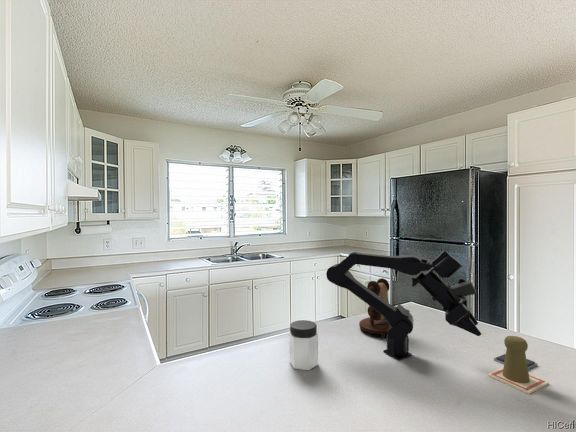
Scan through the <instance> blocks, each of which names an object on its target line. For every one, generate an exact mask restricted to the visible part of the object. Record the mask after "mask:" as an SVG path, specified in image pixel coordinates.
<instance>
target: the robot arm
mask: <svg viewBox="0 0 576 432" xmlns="http://www.w3.org/2000/svg"><path fill="white" fill-rule="evenodd" d="M356 265H359V266H368V267H375V268H376V267H377V268H384V269H390V270H394V271H396V272H399V273H402V274H407V275H408V276H412V277H411V282H412V284H411V285H412V286H411V287H412V288H413V287H414V288H415V287H416V286H417V285H418V284H419V285H420V286H421V287H422V288H423V289H424V291H426V292H427V293H428V294H429V296H431V299H432V300H433V301H435V302H437V304H439V305H440V306H441V309H442V310H443V311H444V313H445V321H446V322H447V323H448V324H449V326H454V327H457V328H460V329H462V330H464V331H466V332H469V333H470V334H473V335H475V336H477V337H480V336H481V335H482V333H481V331H480V330H479V328H478V327H477V325H479V322H478V320H477V319H476V318H475V316H474V315H473V313H472V312H471V310H470V309H469V307H468V302H467V300H468V299H467V298H466V297H467V296H470V295H471V296H472V295H475V294H477V290H476V288H475V286H474V284H473V283H472V280H469V279H468V280H466V279H465V278H463V277H461V278H458V279H457V283H456V284H454V285H450V283H447V282H446V283H445V282H444V280H443V279H446V278H447V279H450V278H451V277H452V276H453V275H454V274H456V273H457V272H458V271H460V270H461V268H463V267H464V266H463V265H462V263H460V262H459V260H457V259H456V258H455V257H454V256H452V255H451V254H450V253H449V252H447V251H446V250H445V249H444V250H443V251H441V252H440V254H439V255H438V256H437V257H436V258H434V259H433V260H428V259H422V258H420V257H419V256H418V255H416V254H403V255H392V256H391V255H385V254H375V253H374V254H373V253H366V252H365V253H364V252H359V251H353V252H350V254H348V256H347V257H345V258H344V259H343V260H342V261H340V262H339V263H335V264H332V266H330V267H328V268H327V270H326V273H325V274H326V279H327V280H328V281H329V282H330V283H332V284H334V285H335V286H338V287H340V288H343V289H345V290H348V291H349V292H350V293H352V294H353V295H355V296H356V297H358V299H360V300H361V301H363V302H364V303H365V304H367V305H368V307H369V306H371V307H372V308H373V309H375V310H376V311H377V312H379V313H380V314H381V315H383V316H384V317H385V319H386V320H387V322H388V323H389V327H388V330H387V334H386V349H384V350H383V353H384V354H386V355H388V356H390V357H392V358H393V359H396V360H397V361H398V360H399V361H400V360H402V359H406V358H409V357H411V356H413V354H412V353H411V352H410V351H409V350H410V349H409V346H410V345H409V335H410V334H412V332H413V330H414V329H413V328H414V322H415V320H414V317H413V314H411V313H410V312H411V311H410V309H407V308H405V307H404V306H403V305H401V303H398V304H397V306H395V305H393V304H390V302H389V303H388V302H386V301H385V300H383V299H382V298H381V297H380V296H378V295H376V294H375V293H374V292H372V291H371V290H370V289H368V288H367V286H365V284H363V283H361V281H359V280H357V279H356V278H355V277H354V275H353V273H351V271H350V270H351V269H352V268H353V267H354V266H356ZM426 271H427V272H426ZM440 277H441V278H442V279H441V278H440Z"/></svg>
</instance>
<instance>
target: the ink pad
mask: <svg viewBox="0 0 576 432" xmlns="http://www.w3.org/2000/svg"><path fill="white" fill-rule="evenodd" d="M505 355H506V353H504V354H502V355H498V356H496V357H494V358H493V361H494V362H497V363H500V364H502V365H504V361H505ZM526 360H527V366H528V370H531V369H532V368H535V367H537V366H538V362H535V361H533V360H531V359H528V358H526Z"/></svg>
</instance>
